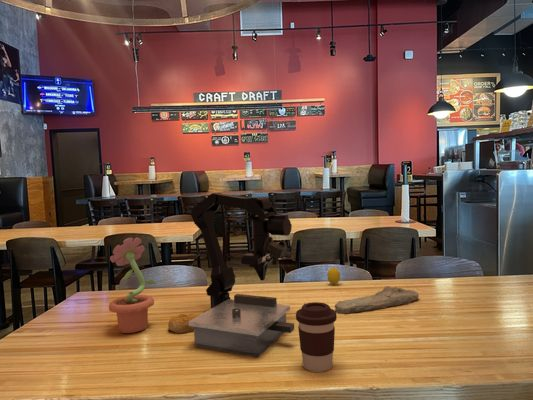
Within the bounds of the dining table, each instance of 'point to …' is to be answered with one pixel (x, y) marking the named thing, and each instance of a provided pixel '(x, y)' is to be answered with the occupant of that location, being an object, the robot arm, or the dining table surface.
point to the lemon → (333, 275)
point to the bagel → (181, 323)
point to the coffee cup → (316, 335)
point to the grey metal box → (241, 339)
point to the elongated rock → (377, 300)
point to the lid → (242, 315)
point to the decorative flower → (133, 305)
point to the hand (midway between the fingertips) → (262, 280)
